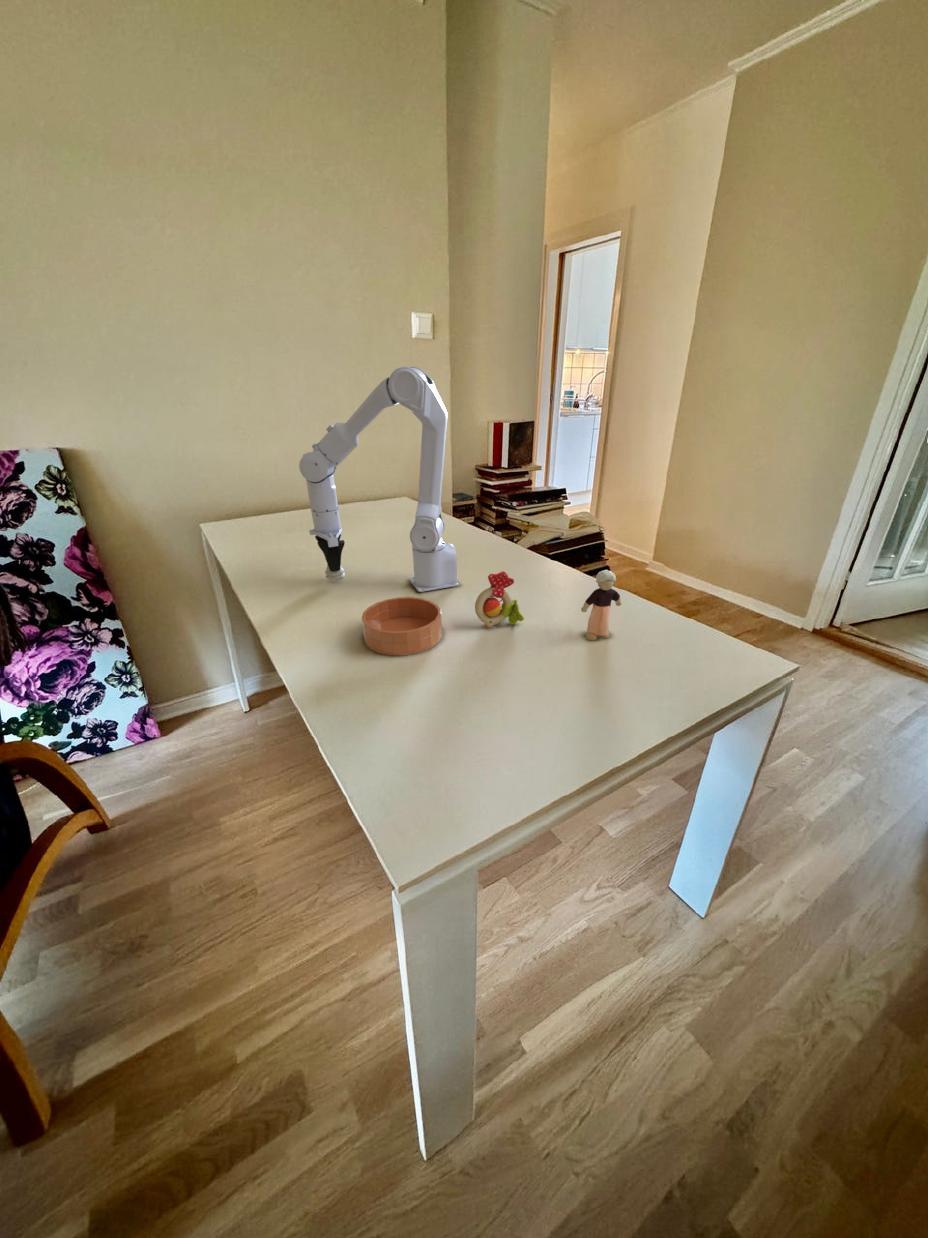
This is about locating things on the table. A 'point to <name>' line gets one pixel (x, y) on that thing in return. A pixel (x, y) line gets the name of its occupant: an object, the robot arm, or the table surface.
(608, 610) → the grandmother figurine
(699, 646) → the table surface
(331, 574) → the rook chess piece
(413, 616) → the pan
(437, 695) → the table surface
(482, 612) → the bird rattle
